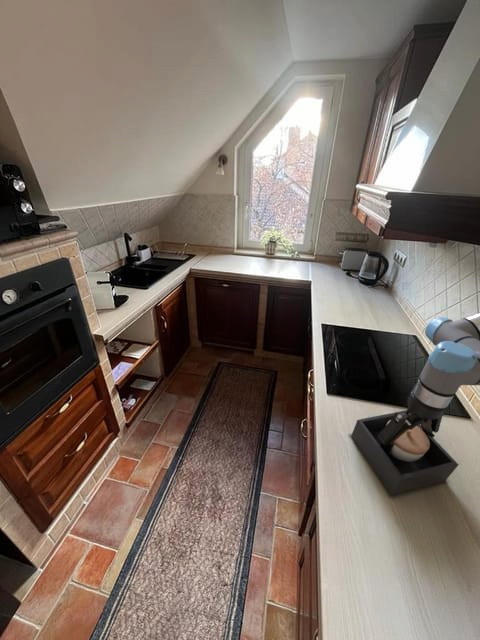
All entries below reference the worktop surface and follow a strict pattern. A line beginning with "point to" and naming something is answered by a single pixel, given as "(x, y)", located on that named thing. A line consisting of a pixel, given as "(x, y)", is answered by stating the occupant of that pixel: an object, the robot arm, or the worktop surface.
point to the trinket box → (410, 445)
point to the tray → (396, 472)
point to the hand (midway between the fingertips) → (398, 449)
